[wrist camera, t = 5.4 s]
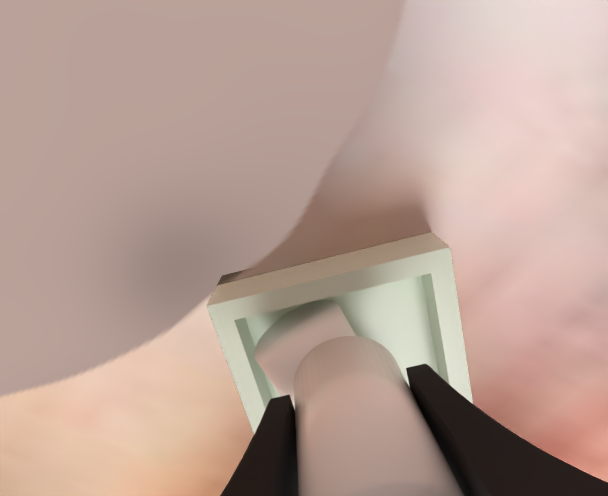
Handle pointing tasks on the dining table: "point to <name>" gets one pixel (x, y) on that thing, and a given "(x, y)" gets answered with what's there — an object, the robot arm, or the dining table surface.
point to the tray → (350, 310)
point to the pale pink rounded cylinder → (298, 340)
